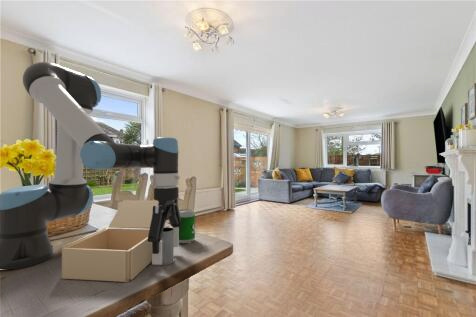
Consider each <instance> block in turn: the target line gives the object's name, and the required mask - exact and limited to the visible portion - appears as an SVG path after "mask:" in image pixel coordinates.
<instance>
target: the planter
mask: <svg viewBox="0 0 476 317" xmlns="http://www.w3.org/2000/svg"><path fill="white" fill-rule="evenodd" d="M160 241H162V264H161V265H160V266H168V265H171V264H173V262H174V249H175V247H174V229H173V228H171V227H169V226H168V227H164V229H163V233H162V237H161V240H160Z"/></svg>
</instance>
